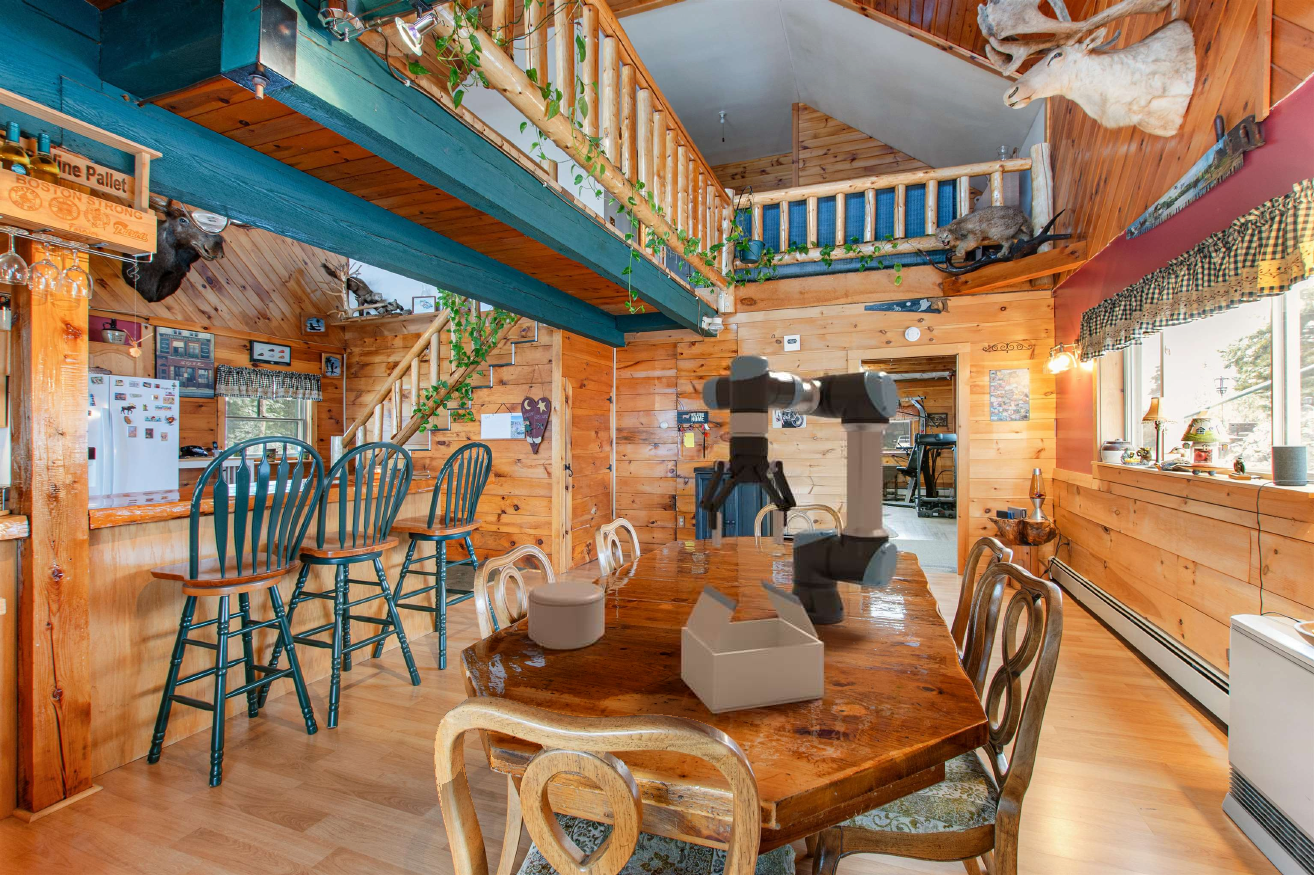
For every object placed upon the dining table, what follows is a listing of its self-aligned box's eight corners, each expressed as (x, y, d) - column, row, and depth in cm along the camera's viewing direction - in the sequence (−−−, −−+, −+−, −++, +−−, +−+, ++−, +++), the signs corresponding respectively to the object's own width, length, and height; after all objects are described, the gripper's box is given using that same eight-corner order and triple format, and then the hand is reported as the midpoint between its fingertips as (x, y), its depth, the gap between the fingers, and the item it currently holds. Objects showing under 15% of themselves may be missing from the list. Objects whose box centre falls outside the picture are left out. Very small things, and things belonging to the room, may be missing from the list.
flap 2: (778, 617, 122) (780, 615, 123) (816, 638, 109) (818, 637, 109) (760, 581, 121) (762, 579, 121) (796, 598, 108) (798, 597, 108)
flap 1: (707, 585, 118) (705, 584, 118) (738, 603, 104) (736, 602, 104) (687, 625, 116) (685, 624, 116) (715, 649, 103) (713, 648, 103)
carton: (779, 665, 124) (780, 617, 124) (823, 697, 108) (823, 643, 108) (681, 677, 117) (681, 627, 117) (712, 713, 102) (713, 655, 102)
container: (553, 658, 127) (554, 603, 127) (514, 636, 141) (514, 587, 141) (619, 639, 139) (620, 590, 139) (577, 622, 153) (577, 576, 153)
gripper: (794, 436, 123) (794, 539, 122) (682, 435, 115) (682, 544, 115) (814, 436, 115) (813, 545, 115) (696, 434, 108) (695, 551, 108)
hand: (748, 545), depth 115 cm, fingers open, 12 cm apart
